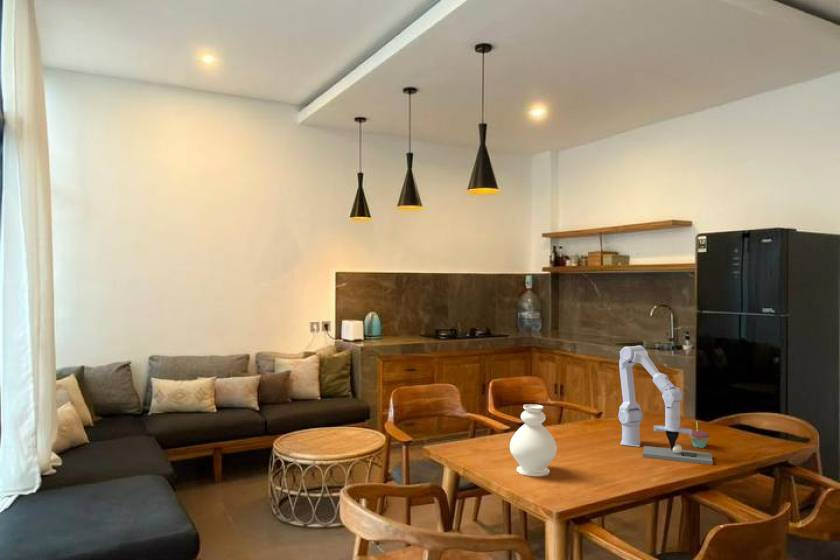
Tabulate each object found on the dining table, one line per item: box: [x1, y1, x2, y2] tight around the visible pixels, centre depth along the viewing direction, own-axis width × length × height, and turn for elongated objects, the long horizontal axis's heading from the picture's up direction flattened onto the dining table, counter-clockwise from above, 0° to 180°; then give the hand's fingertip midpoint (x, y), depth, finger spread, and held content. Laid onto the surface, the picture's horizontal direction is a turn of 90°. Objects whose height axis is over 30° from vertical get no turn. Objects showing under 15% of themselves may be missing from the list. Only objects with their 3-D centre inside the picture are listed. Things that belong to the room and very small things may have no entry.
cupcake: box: [688, 419, 710, 449], centre depth 259 cm, size 9×8×12 cm
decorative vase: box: [509, 403, 558, 477], centre depth 226 cm, size 18×18×25 cm
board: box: [642, 445, 714, 466], centre depth 244 cm, size 12×26×2 cm, turn 67°
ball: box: [672, 443, 683, 454], centre depth 244 cm, size 4×4×4 cm
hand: (672, 449), depth 245 cm, fingers closed, pressing on ball
